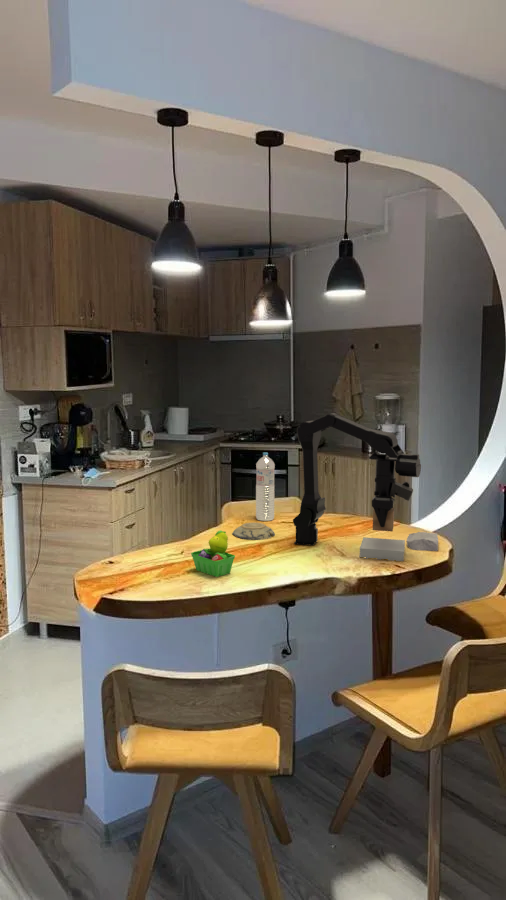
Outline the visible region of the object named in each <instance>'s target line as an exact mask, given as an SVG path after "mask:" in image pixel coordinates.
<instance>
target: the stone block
mask: <svg viewBox="0 0 506 900" xmlns="http://www.w3.org/2000/svg"><path fill="white" fill-rule="evenodd" d="M405 543H406V544H407V545H406V546H407V548H409V549H410V550H413V551H425V552H427V551H428V552H438V550H439V537H438V533H433V532H426V531H418V532H412V533H409V534H408V536H407V538H406V540H405Z"/></svg>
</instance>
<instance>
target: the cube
mask: <svg viewBox="0 0 506 900" xmlns="http://www.w3.org/2000/svg"><path fill="white" fill-rule="evenodd" d="M394 519H395V507H393V508H392V509H391V510H389V511H388V513H387V518H386V522H385V526H384V527H381V526H380V524H379V521H378V518H377V516H376V513H375V511H374V509H373V510H372V531H379V532H394V525H395V524H394V523H395V521H394Z"/></svg>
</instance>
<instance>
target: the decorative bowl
mask: <svg viewBox="0 0 506 900" xmlns="http://www.w3.org/2000/svg"><path fill="white" fill-rule="evenodd" d="M231 535H232V536H234V537H236V538H238V539H241V540H246V541H262V540H269V539H271V538H272V537H275V536H276V534H275V531H274V530H273V528H271V527H269V526H268V525H266V524H265V523H262V522H245V523H242V524H241V525H240V526H238V527H236V528H235V529H234V530H233V532H232V533H231Z"/></svg>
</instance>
